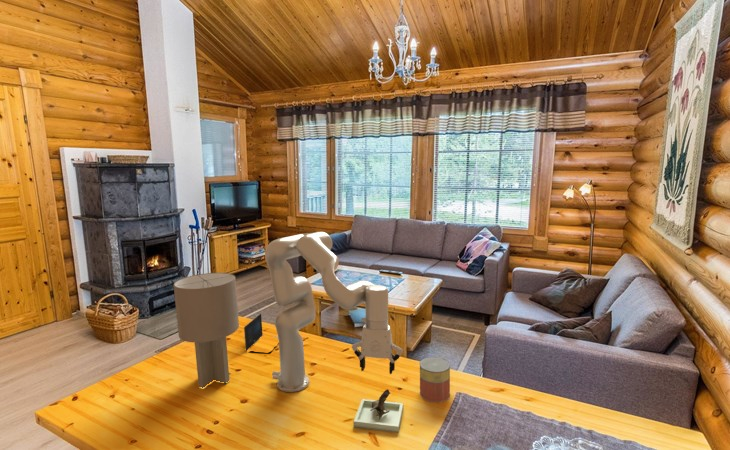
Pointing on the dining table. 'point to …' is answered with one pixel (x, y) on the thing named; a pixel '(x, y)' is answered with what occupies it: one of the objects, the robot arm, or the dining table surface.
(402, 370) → the dining table surface
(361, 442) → the dining table surface
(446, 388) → the canned food
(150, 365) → the dining table surface
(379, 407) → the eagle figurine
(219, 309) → the lamp
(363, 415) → the tray
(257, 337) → the laptop
